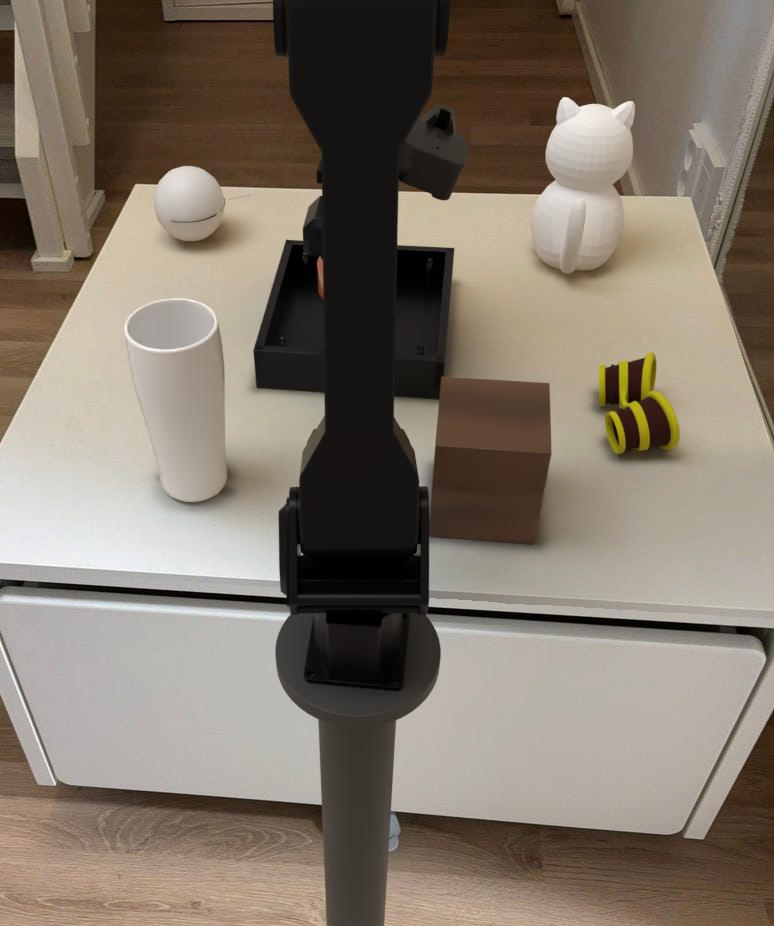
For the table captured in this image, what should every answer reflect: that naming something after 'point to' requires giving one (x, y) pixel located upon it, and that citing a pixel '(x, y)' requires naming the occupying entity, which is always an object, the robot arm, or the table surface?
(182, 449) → the drinking glass
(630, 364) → the opera glasses
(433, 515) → the block
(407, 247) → the tray
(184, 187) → the white ball
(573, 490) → the table surface
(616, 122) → the cat figurine
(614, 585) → the table surface
